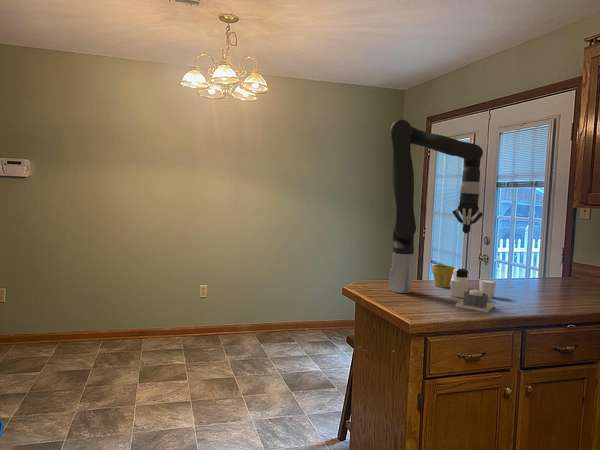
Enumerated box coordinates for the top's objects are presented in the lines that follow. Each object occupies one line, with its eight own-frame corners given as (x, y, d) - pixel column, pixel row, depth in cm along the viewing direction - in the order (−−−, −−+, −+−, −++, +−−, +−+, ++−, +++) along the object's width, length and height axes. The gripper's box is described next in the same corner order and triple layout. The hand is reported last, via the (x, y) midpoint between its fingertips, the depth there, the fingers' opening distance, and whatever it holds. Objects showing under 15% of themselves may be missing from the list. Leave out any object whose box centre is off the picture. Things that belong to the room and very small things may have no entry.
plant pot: (427, 283, 225) (428, 264, 224) (447, 284, 226) (448, 264, 226) (435, 288, 215) (437, 267, 214) (456, 288, 216) (458, 268, 215)
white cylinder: (496, 299, 197) (497, 283, 197) (479, 297, 199) (480, 281, 198) (493, 295, 204) (494, 280, 203) (476, 294, 205) (478, 279, 205)
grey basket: (455, 306, 179) (456, 293, 179) (462, 301, 189) (463, 289, 189) (488, 312, 173) (489, 298, 172) (493, 306, 183) (494, 293, 183)
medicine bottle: (467, 295, 202) (469, 268, 201) (467, 298, 195) (469, 271, 194) (450, 293, 204) (452, 267, 204) (450, 296, 198) (452, 269, 197)
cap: (466, 303, 180) (467, 291, 180) (470, 301, 184) (471, 289, 184) (479, 305, 177) (480, 292, 177) (483, 303, 182) (484, 291, 181)
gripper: (488, 193, 192) (484, 234, 194) (456, 192, 200) (452, 231, 201) (484, 193, 186) (480, 235, 187) (451, 191, 193) (448, 232, 195)
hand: (466, 233), depth 194 cm, fingers closed
